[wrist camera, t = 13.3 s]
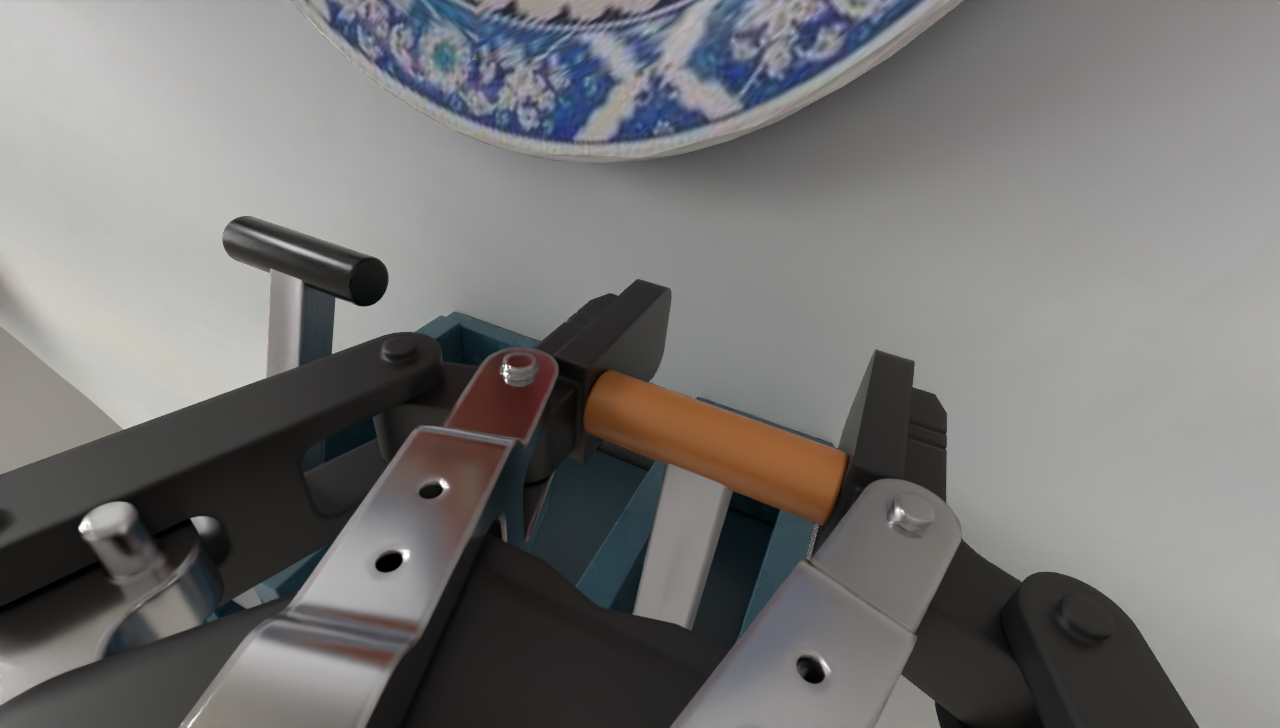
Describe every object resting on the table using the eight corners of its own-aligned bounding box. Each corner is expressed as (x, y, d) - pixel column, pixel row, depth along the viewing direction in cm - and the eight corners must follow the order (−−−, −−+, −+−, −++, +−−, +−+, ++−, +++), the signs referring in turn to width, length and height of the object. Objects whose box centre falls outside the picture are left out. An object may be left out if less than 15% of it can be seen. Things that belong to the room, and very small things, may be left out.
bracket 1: (444, 303, 24) (122, 499, 15) (567, 346, 22) (291, 599, 13) (453, 385, 27) (184, 597, 17) (565, 429, 25) (332, 692, 16)
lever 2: (631, 347, 11) (567, 400, 9) (855, 422, 10) (841, 504, 8) (573, 689, 16) (523, 775, 14) (718, 769, 14) (687, 876, 12)
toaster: (461, 371, 26) (105, 645, 15) (809, 506, 21) (661, 1045, 10) (477, 527, 32) (236, 800, 21) (749, 658, 28) (618, 1091, 17)
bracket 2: (685, 387, 21) (470, 706, 12) (851, 445, 19) (756, 875, 10) (670, 471, 23) (484, 789, 14) (815, 529, 22) (713, 935, 12)
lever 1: (288, 216, 16) (194, 213, 13) (410, 256, 14) (328, 259, 12) (275, 539, 19) (196, 580, 16) (374, 594, 17) (303, 646, 15)
